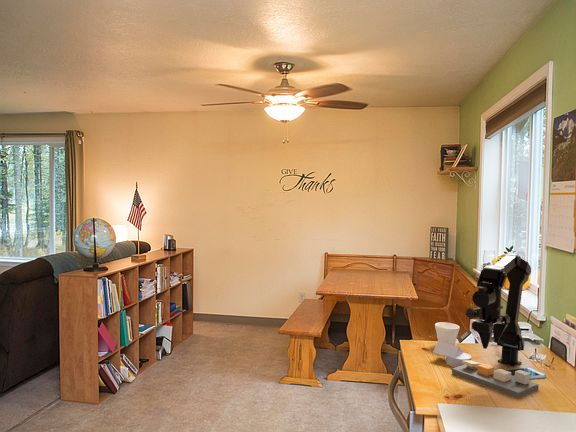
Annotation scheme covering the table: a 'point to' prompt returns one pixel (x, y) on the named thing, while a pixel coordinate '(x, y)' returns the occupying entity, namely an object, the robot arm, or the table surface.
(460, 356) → the wedge on round base
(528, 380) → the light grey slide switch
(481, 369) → the orange button
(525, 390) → the control panel
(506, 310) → the robot arm
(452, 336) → the cup
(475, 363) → the cream rectangular plate
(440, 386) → the table surface
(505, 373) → the off-white button
